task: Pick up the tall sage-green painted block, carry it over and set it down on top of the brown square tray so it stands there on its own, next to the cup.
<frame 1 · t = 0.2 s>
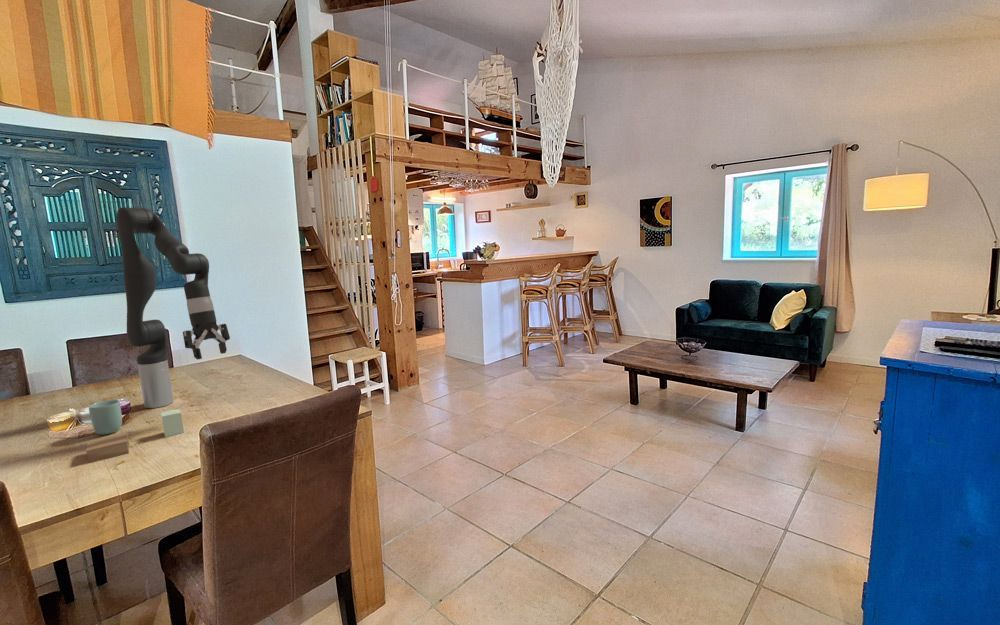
hand: (211, 356, 159), 22 cm above the table, tool pointing down, fingers open, 8 cm apart
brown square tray: (109, 453, 135), on the table
green block: (174, 432, 149), on the table
cup: (109, 432, 151), on the table
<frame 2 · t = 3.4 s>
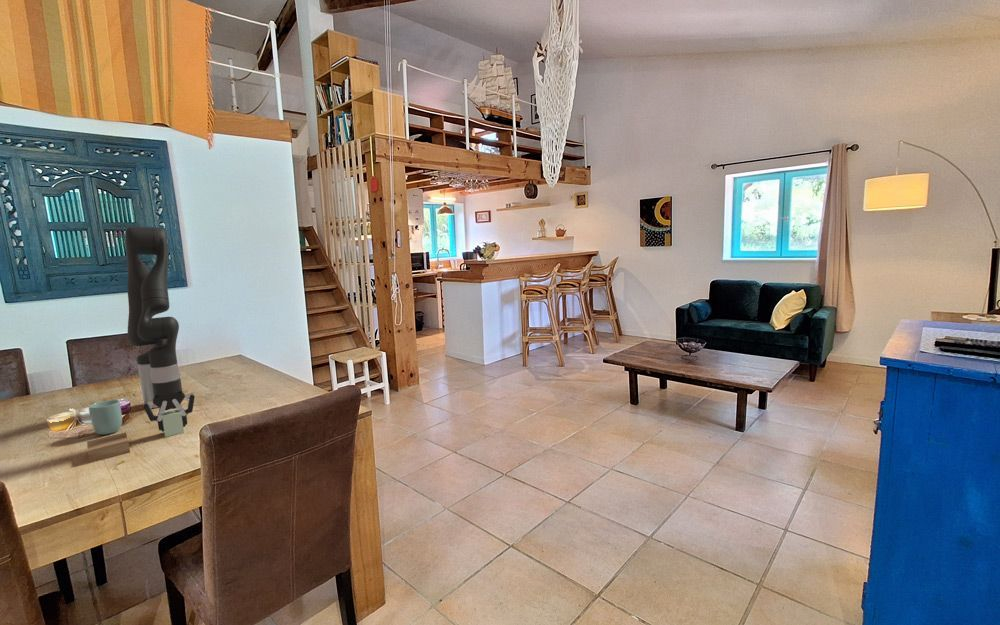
hand: (173, 428, 149), 1 cm above the table, tool pointing down, fingers closed on green block, 5 cm apart
green block: (174, 432, 149), on the table, touching gripper
everything else where it was.
when the fingers open (7 cm above the table, at t = 8.6 s): green block drops 2 cm, resting on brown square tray.
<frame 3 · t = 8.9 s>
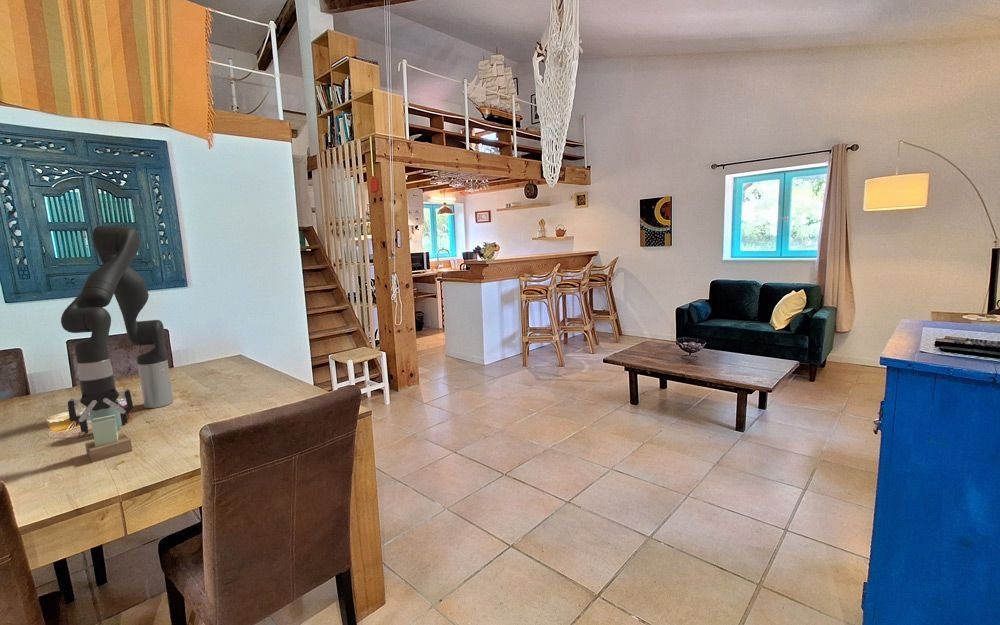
hand: (105, 428, 134), 8 cm above the table, tool pointing down, fingers open, 8 cm apart
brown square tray: (109, 454, 135), on the table, touching green block
green block: (107, 441, 135), point 4 cm above the table, touching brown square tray
everything else where it was.
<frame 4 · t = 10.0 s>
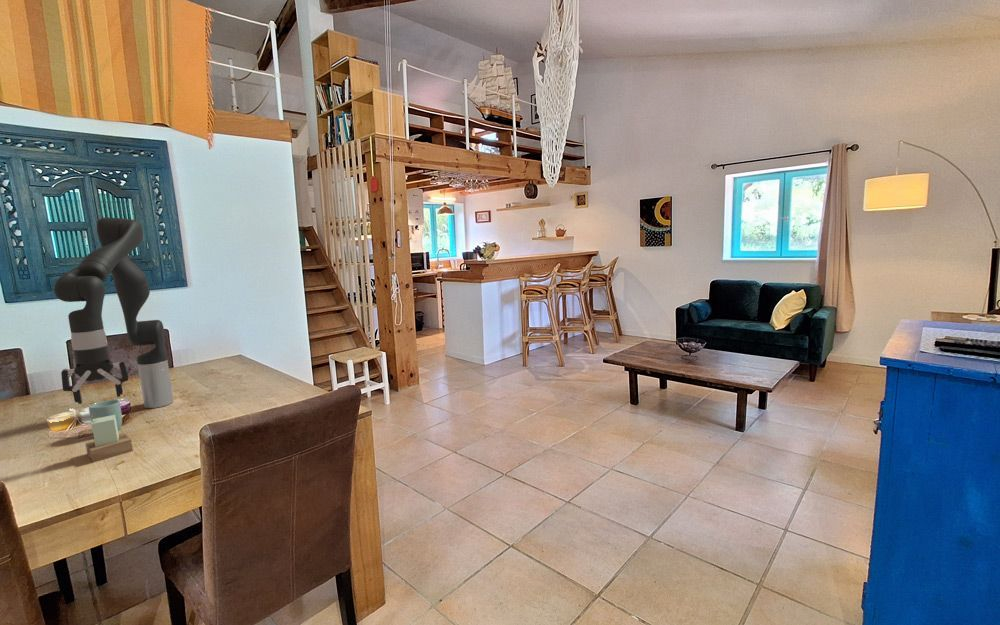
hand: (99, 399, 133), 17 cm above the table, tool pointing down, fingers open, 8 cm apart
nothing on the table moved.
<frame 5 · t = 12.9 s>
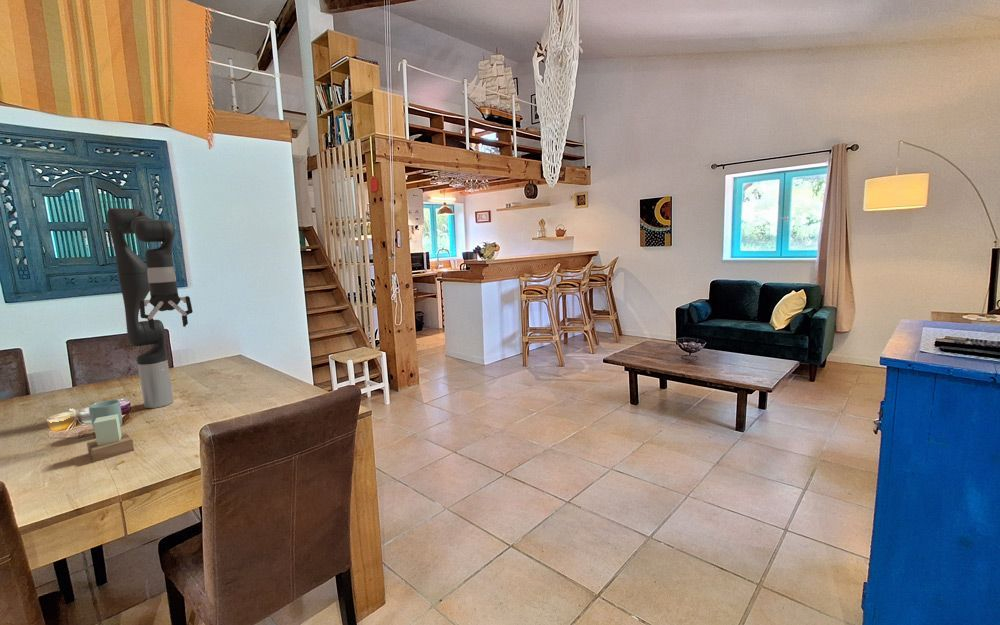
hand: (169, 328, 154), 33 cm above the table, tool pointing down, fingers open, 8 cm apart
nothing on the table moved.
at the end: green block inside the target area on the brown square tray (0.1 cm from its centre), point 4.0 cm above the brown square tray's base; green block tilted 0°; the gripper is holding nothing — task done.
